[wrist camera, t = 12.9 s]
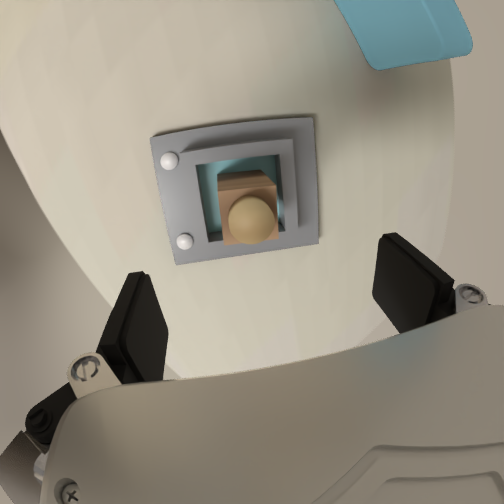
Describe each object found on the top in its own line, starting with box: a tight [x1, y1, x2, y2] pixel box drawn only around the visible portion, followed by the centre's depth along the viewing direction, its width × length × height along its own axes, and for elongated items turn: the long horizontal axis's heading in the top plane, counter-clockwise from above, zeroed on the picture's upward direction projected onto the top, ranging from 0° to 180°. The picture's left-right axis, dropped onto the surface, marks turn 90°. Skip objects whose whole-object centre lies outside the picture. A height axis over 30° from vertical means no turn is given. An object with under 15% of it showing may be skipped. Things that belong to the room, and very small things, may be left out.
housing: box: [150, 117, 319, 265], centre depth 25 cm, size 13×15×4 cm
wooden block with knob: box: [217, 169, 279, 245], centre depth 22 cm, size 4×4×8 cm
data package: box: [334, 0, 473, 70], centre depth 15 cm, size 12×4×12 cm, turn 27°
